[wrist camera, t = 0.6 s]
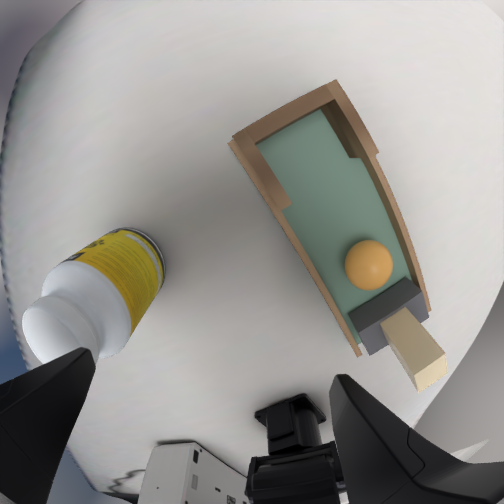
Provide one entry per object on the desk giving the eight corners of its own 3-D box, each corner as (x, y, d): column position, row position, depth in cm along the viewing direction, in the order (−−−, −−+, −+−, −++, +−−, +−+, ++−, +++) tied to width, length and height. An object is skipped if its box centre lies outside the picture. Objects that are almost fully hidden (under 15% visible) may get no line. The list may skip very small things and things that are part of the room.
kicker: (414, 302, 21) (467, 360, 13) (359, 337, 22) (396, 408, 14) (406, 277, 20) (466, 333, 12) (348, 314, 21) (387, 388, 13)
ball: (386, 262, 20) (407, 281, 17) (349, 285, 21) (365, 308, 17) (370, 225, 19) (391, 238, 16) (330, 249, 20) (345, 268, 16)
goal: (358, 152, 17) (379, 152, 14) (275, 201, 19) (280, 211, 15) (321, 92, 16) (336, 79, 13) (235, 140, 17) (231, 136, 14)
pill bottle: (142, 212, 20) (47, 268, 9) (181, 282, 22) (130, 384, 11) (87, 246, 21) (-3, 310, 10) (124, 307, 23) (62, 396, 12)
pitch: (418, 297, 22) (431, 310, 20) (349, 341, 24) (357, 357, 21) (323, 92, 17) (333, 84, 14) (230, 145, 18) (227, 143, 16)
